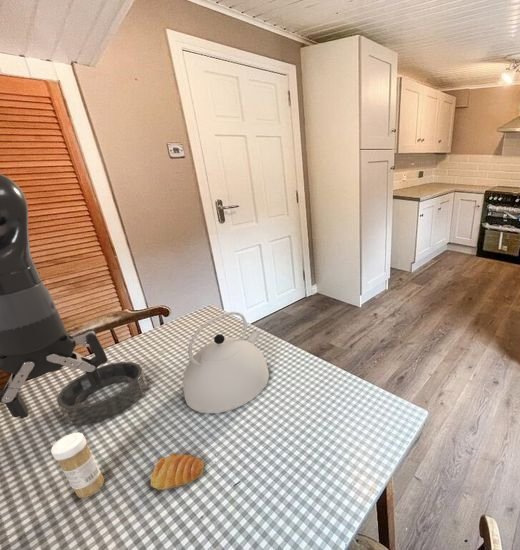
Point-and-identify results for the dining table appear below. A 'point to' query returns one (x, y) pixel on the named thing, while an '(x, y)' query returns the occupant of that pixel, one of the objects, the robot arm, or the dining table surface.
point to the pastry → (176, 471)
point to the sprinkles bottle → (78, 464)
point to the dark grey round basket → (82, 389)
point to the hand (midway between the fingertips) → (62, 400)
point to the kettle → (224, 372)
